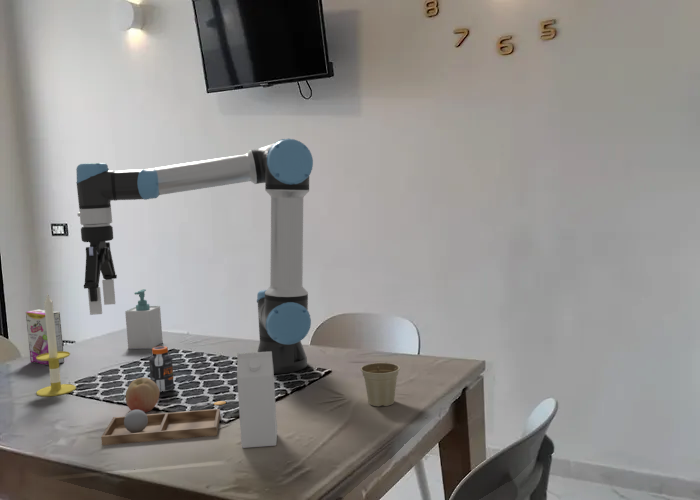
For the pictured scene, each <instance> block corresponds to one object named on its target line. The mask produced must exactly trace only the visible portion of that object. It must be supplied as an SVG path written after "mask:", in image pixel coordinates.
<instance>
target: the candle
mask: <svg viewBox="0 0 700 500" xmlns="http://www.w3.org/2000/svg"><path fill="white" fill-rule="evenodd" d="M46 294H47V295H46V296H45V297H46V298H45V301H44V302H43V303H44V304H43V305H44V310H45V318H46V329H47V340H48V351H49V353H45V354H41V355H39V356H37V357H36V359H37V360H40V361H49V365H48V367H49V379H50V385H48V386H45V387H43V388H40V389H38V390H37V391H36V395H37V396H39V397H47V398H48V397H58V396H63V395H66V394H69V393H72V392H74V391H76V389H77V387H76V385H74V384H71V383H70V384H68V383H67V384H66V383H62V382H61V371H60V370H61V369H60V364H59V359H62V358H64V359H65V358H68V357H70V355H71V352H69V351H66V350H65V351H64V350H63V351H58V352H57V344H56V333H55V322H54V303H53V301H52V299H51V297H50V295H49V294H48V292H46ZM73 390H74V391H73Z"/></svg>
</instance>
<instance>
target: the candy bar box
mask: <svg viewBox="0 0 700 500" xmlns="http://www.w3.org/2000/svg"><path fill="white" fill-rule="evenodd" d="M53 311H54V310H53ZM25 318H26V319H25V321H26V330H27V337H28V340H27V341H28V350H29V358H30V362H31V363H34V364H40V365H45V366H49V361H40V360H37V359H36V357H37V356H39V355H41V354H45V353H49V351H48V340H47V329H46V318H45V309H39V308H38V309H33V310H28V311H26V312H25ZM54 322H55V333H56V344H57V352H58V351H64V345H63V344H64V343H63V334H62V332H63V331H62V324H61V323H62V322H61V313H60V311H54ZM63 363H65V358H62V359H59V365H60V364H63Z"/></svg>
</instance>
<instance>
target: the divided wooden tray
mask: <svg viewBox="0 0 700 500" xmlns="http://www.w3.org/2000/svg"><path fill="white" fill-rule="evenodd" d="M146 415H147V418H148V423H147V426H146V428H145V429H144V430H143V431H141V432H139V433H132V432H130V431H128V430H127V429H126V428H125V425H124V419H125V416H126V415H125V416H123V415H122V416H113V417H112V419H111V421H110V422H109V424H107V427H106V428H105V430H104V432H103V433H102V435H101V437H100V439H101V445H102V446H109V445H122V444H131V443H133V444H134V443H145V442H155V441H167V440H179V439H191V438H201V437H202V438H203V437H216V436H217V435H218V431H219V426H220V421H221V409H220V408H211V409H200V410H198V409H197V410H186V411H175V412H173V411H172V412H164V413H161V412H160V413H151V414H150V413H149V414H146Z"/></svg>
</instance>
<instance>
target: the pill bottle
mask: <svg viewBox="0 0 700 500" xmlns="http://www.w3.org/2000/svg"><path fill="white" fill-rule="evenodd" d="M151 353H152V355H151V356H150V357H149V359H148V364H149V377H150V378H149V379H151V380H152V381H154V382H155V383H156V384H157V386H158V388H159V391H160V393H161V392H162V391H163V392H167V391H171V390H172V389H174V387H175V384H174V382H175V381H174V380H175V379H174V370H173V369H174V367H173V356H172V355H171V354H169V350H168V347H167V346H164V345H163V346H161V345H158V346H156V347H154V348H152V349H151Z"/></svg>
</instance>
